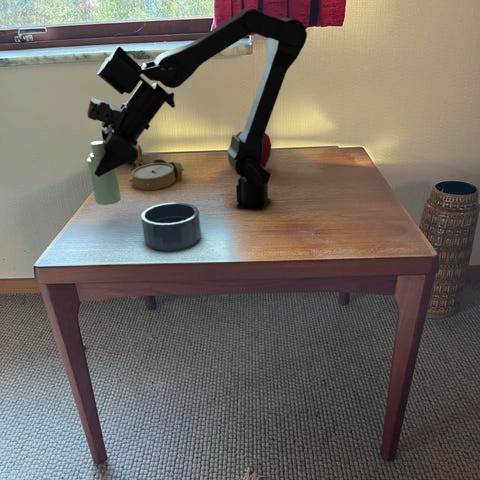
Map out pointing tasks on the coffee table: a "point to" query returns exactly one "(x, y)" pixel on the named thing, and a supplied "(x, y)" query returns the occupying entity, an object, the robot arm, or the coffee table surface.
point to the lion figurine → (139, 156)
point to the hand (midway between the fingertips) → (95, 171)
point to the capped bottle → (102, 178)
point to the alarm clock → (156, 174)
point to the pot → (171, 226)
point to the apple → (264, 149)
